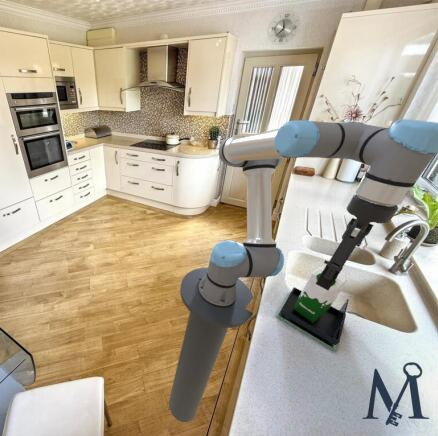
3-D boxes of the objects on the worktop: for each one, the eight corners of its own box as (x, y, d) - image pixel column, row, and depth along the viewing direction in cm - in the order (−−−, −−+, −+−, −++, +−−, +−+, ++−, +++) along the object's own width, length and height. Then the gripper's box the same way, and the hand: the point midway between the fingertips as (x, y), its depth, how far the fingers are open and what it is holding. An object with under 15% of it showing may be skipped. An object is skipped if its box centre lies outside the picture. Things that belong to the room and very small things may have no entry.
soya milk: (289, 308, 86) (312, 268, 77) (301, 298, 91) (324, 259, 81) (314, 326, 80) (342, 285, 70) (326, 315, 85) (353, 274, 75)
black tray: (276, 317, 87) (287, 296, 81) (289, 294, 97) (299, 274, 91) (333, 351, 76) (350, 330, 71) (340, 321, 87) (356, 301, 81)
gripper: (392, 225, 39) (333, 309, 50) (405, 192, 54) (358, 262, 65) (339, 208, 44) (296, 288, 55) (365, 182, 59) (327, 249, 69)
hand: (330, 274), depth 60 cm, fingers open, 13 cm apart
